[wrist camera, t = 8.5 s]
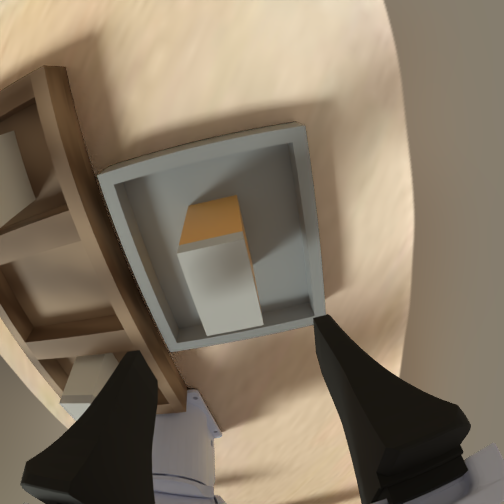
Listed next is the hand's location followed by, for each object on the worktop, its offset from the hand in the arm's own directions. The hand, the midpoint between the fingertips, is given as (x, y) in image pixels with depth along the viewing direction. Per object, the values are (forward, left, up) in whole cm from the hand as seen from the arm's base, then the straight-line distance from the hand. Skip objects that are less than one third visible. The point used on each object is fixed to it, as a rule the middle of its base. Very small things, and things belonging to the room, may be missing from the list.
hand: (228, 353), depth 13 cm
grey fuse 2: (-9, +13, -9) cm, 18 cm away
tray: (0, 0, -10) cm, 10 cm away
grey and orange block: (+1, 0, -9) cm, 9 cm away
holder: (0, +13, -10) cm, 16 cm away
